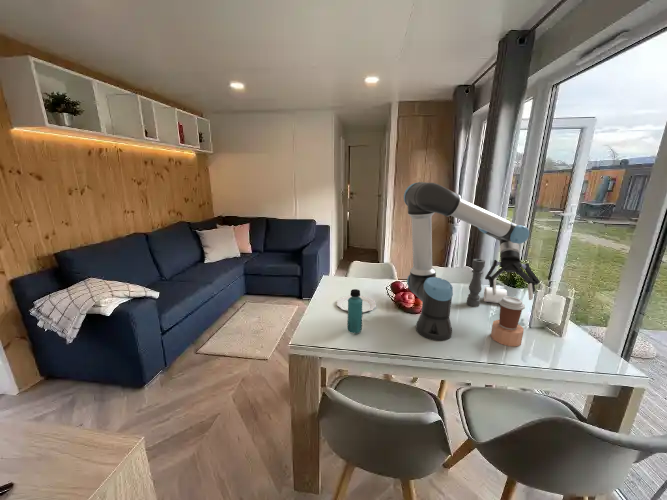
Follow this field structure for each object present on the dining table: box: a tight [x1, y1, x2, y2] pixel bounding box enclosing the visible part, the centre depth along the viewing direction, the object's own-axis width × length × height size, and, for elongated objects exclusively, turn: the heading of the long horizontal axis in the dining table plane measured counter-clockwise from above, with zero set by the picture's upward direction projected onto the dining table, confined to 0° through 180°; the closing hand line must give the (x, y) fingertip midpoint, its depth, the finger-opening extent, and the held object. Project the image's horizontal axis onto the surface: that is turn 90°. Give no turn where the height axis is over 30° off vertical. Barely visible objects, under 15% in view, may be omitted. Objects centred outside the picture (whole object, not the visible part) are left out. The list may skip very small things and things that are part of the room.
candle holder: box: [466, 258, 486, 308], centre depth 149 cm, size 6×6×25 cm
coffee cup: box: [498, 295, 526, 330], centre depth 116 cm, size 9×9×12 cm
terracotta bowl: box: [490, 319, 525, 347], centre depth 118 cm, size 11×11×6 cm
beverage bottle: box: [346, 288, 363, 334], centre depth 121 cm, size 6×7×20 cm
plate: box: [336, 295, 377, 313], centre depth 150 cm, size 21×21×2 cm
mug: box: [483, 286, 508, 304], centre depth 156 cm, size 12×10×8 cm
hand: (512, 296), depth 119 cm, fingers open, 13 cm apart
